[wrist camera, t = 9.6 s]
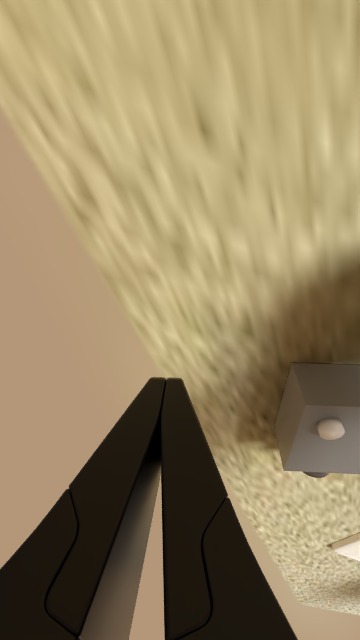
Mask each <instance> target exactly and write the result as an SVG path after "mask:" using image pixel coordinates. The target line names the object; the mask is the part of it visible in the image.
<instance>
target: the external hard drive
mask: <svg viewBox="0 0 360 640" xmlns="http://www.w3.org/2000/svg"><path fill="white" fill-rule="evenodd" d="M332 547H333V550H334V551H335V552H336V553H338V554H341V555H344V556H347V557H350V558H353V559H355V560H358V561H360V533H357V534H355V535H352V536H350V537H347V538H345V539H342V540H340V541H337V542H335V543H332Z"/></svg>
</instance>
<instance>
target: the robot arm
mask: <svg viewBox="0 0 360 640" xmlns="http://www.w3.org/2000/svg"><path fill="white" fill-rule="evenodd" d="M160 475H161V483H162V529H163V577H164V625H165V640H298V639H297V637H296V636H295V634H294V632H293V630H292V628H291V626H290V624H289V622H288V620H287V618H286V616H285V614H284V613H283V611H282V609H281V607H280V605H279V603H278V601H277V599H276V597H275V595H274V594H273V592H272V590H271V588H270V586H269V584H268V582H267V580H266V578H265V576H264V574H263V573H262V571H261V568H260V567H259V564H258V562H257V560H256V558H255V556H254V554H253V552H252V550H251V548H250V546H249V544H248V542H247V539H246V537H245V535H244V532H243V530H242V528H241V525H240V523H239V521H238V519H237V516H236V514H235V511H234V509H233V506H232V504H231V501H230V499H229V498H228V494H227V491H226V489H225V486H224V484H223V481H222V479H221V476H220V473H219V471H218V468H217V466H216V463H215V461H214V458H213V456H212V453H211V451H210V448H209V446H208V443H207V440H206V438H205V435H204V433H203V430H202V428H201V425H200V423H199V420H198V418H197V415H196V413H195V410H194V407H193V405H192V402H191V400H190V397H189V395H188V392H187V390H186V387H185V385H184V382H183V380H182V379H181V378H167V380H166V378H164V377H152V378H150V379H149V380H148V382H147V383H146V384H145V386H144V387H143V389H142V390H141V391H140V393H139V394H138V395H137V397H136V398H135V399H134V400H133V402H132V403H131V404H130V406H129V407H128V408H127V410H126V411H125V413H124V414H123V415H122V416H121V418H120V419H119V420H118V422H117V423H116V424H115V426H114V427H113V428H112V430H111V431H110V432H109V434H108V435H107V436H106V438H105V439H104V440H103V442H102V443H101V444H100V445H99V447H98V448H97V449H96V451H95V452H94V453H93V455H92V456H91V457H90V459H89V460H88V462H87V463H86V464H85V465H84V467H83V468H82V469H81V471H80V472H79V473H78V475H77V476H76V477H75V479H74V480H73V481H72V483H71V484H70V485H69V489H67V490H65V492H64V493H63V494H62V496H61V497H60V499H59V500H58V501H57V502H56V504H55V505H54V506H53V508H52V509H51V510H50V512H49V513H48V514H47V515H46V516H45V518H44V519H43V520H42V522H41V523H40V524H39V525H38V526H37V528H36V529H35V530H34V531H33V533H32V534H31V535H30V536H29V537H28V538H27V539H26V541H25V542H24V543H23V544H22V545H21V546H20V548H19V549H18V550H17V551H16V552H15V553H14V555H13V556H12V557H11V558H10V559H9V560H8V561H7V562H6V563H5V565H4V566H3V567H2V568H1V569H0V640H129V635H130V629H131V624H132V619H133V614H134V609H135V604H136V599H137V594H138V588H139V583H140V578H141V573H142V567H143V563H144V557H145V552H146V547H147V541H148V537H149V532H150V527H151V522H152V516H153V511H154V506H155V501H156V496H157V490H158V486H159V480H160Z"/></svg>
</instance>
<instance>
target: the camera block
mask: <svg viewBox="0 0 360 640" xmlns="http://www.w3.org/2000/svg"><path fill="white" fill-rule="evenodd" d="M274 428H275V433H276V438H277V442H278V447H279V451H280V456H281V460H282V465H283V469H284V471H302V472H303V473H305V474H307V475H309V476H311V477H315V478H322V477H325V476H327V475H328V474H329V473H344V474H360V365H350V364H316V363H291V367H290V370H289V374H288V378H287V382H286V385H285V389H284V393H283V397H282V401H281V404H280V408H279V412H278V416H277V419H276V423H275V427H274Z"/></svg>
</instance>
